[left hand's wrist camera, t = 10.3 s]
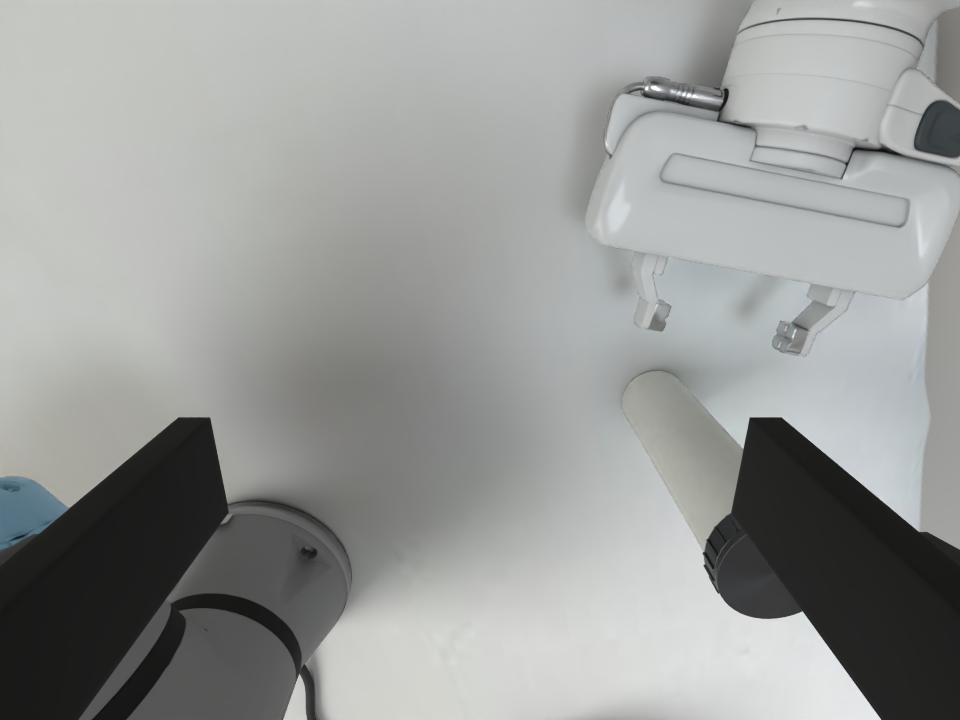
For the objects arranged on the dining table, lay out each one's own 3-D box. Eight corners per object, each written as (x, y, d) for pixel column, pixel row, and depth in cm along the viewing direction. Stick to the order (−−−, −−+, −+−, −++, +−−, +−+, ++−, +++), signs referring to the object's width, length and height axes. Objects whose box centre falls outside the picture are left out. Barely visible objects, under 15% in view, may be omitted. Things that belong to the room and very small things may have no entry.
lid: (682, 531, 25) (695, 554, 24) (799, 477, 24) (820, 498, 23) (728, 611, 27) (742, 637, 26) (839, 564, 26) (861, 588, 25)
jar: (610, 389, 42) (703, 550, 24) (669, 359, 41) (808, 502, 23) (637, 438, 43) (743, 621, 26) (694, 409, 42) (844, 579, 25)
